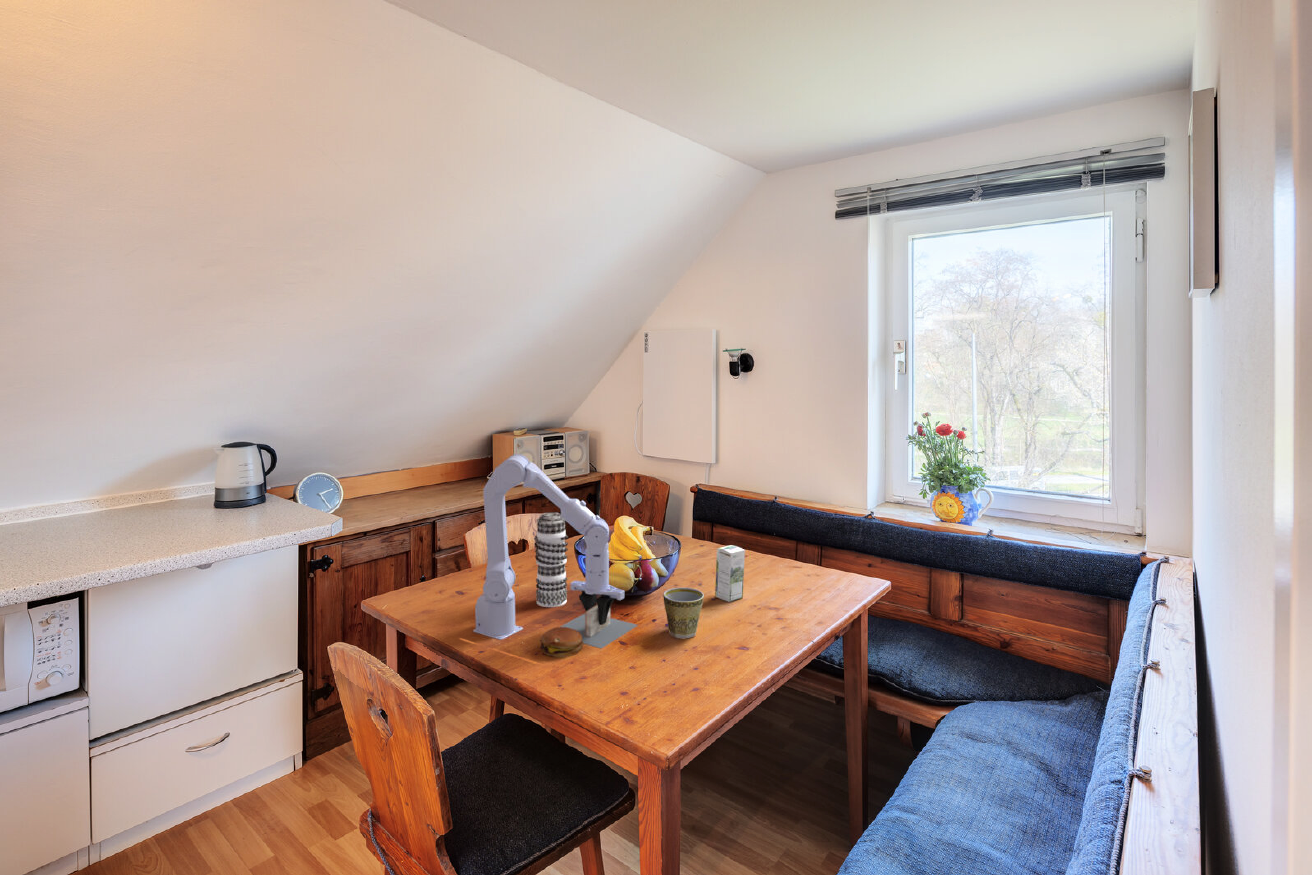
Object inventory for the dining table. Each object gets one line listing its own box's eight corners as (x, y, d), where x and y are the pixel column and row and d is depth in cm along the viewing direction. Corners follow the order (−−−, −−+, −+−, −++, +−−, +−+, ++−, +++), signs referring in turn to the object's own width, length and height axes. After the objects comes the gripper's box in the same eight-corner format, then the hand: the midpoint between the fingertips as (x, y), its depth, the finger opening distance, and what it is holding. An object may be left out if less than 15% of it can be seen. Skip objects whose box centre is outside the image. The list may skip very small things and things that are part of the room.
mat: (548, 634, 164) (548, 633, 164) (587, 613, 177) (587, 611, 177) (601, 650, 156) (601, 648, 156) (638, 626, 169) (638, 624, 169)
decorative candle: (557, 594, 191) (556, 508, 188) (574, 603, 184) (574, 515, 181) (528, 601, 186) (527, 513, 182) (545, 611, 178) (545, 520, 175)
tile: (604, 622, 171) (604, 599, 170) (610, 623, 170) (610, 601, 169) (585, 635, 163) (585, 611, 162) (590, 636, 162) (590, 613, 161)
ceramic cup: (700, 643, 160) (700, 603, 159) (659, 639, 162) (659, 599, 160) (706, 622, 172) (707, 585, 171) (668, 618, 174) (669, 582, 173)
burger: (579, 640, 161) (579, 621, 161) (585, 657, 152) (585, 638, 152) (538, 644, 159) (538, 625, 158) (541, 662, 150) (541, 642, 149)
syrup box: (728, 592, 194) (729, 544, 192) (743, 598, 190) (745, 548, 188) (714, 596, 190) (715, 547, 189) (729, 603, 186) (731, 552, 184)
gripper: (563, 569, 164) (563, 621, 166) (613, 578, 157) (613, 633, 159) (579, 561, 170) (579, 612, 172) (628, 570, 163) (628, 623, 165)
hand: (597, 622), depth 166 cm, fingers open, 3 cm apart
